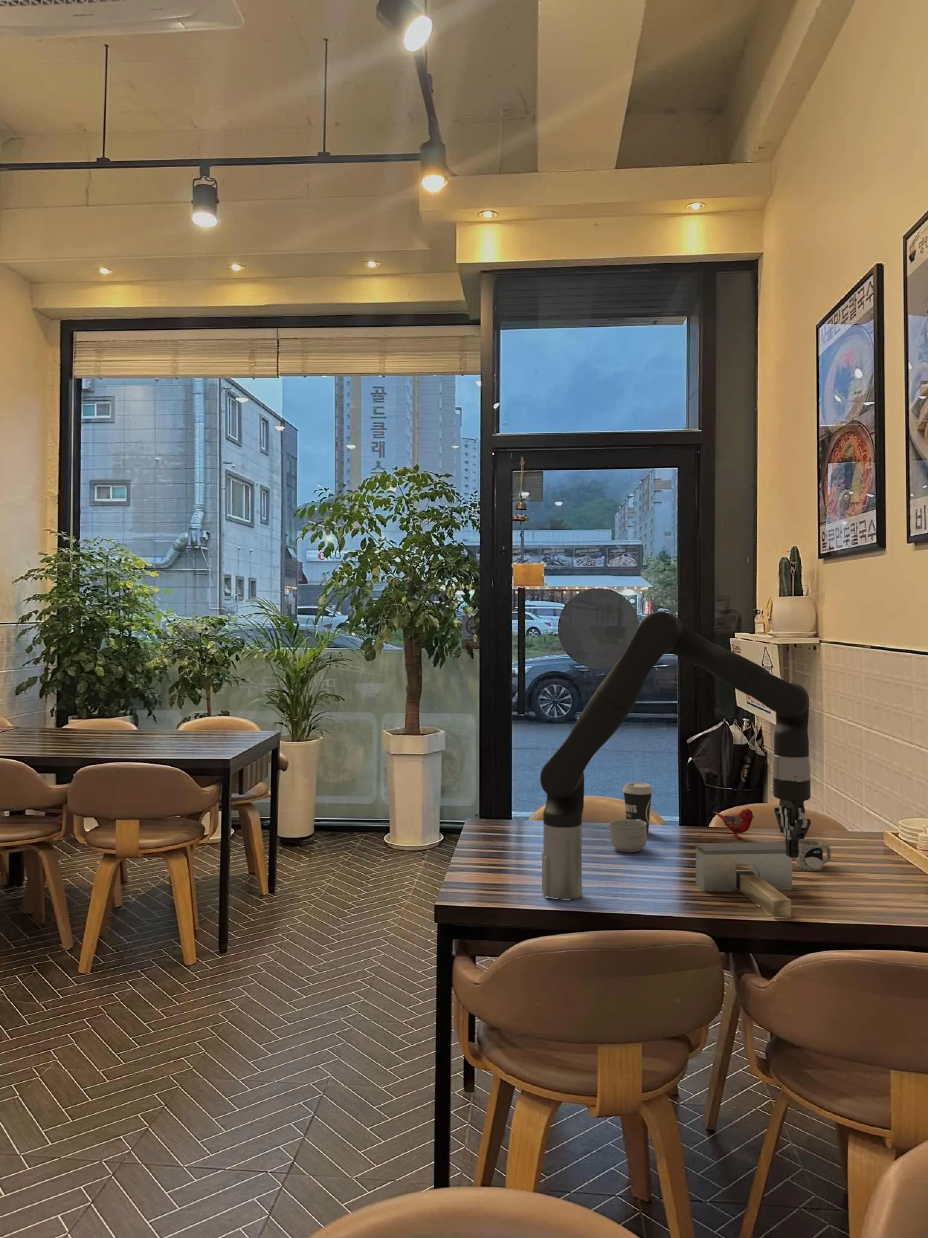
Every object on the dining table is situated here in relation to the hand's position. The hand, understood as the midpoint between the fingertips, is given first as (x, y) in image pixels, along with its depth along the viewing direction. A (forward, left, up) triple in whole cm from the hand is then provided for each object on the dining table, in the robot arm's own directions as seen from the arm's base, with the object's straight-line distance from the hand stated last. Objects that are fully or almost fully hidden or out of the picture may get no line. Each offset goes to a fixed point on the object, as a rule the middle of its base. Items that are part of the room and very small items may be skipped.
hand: (792, 856), depth 175 cm
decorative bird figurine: (+16, +75, -15) cm, 78 cm away
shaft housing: (0, +27, -15) cm, 31 cm away
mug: (+26, +43, -15) cm, 52 cm away
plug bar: (0, +16, -15) cm, 22 cm away
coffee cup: (-12, +82, -15) cm, 84 cm away
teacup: (-19, +63, -15) cm, 68 cm away
